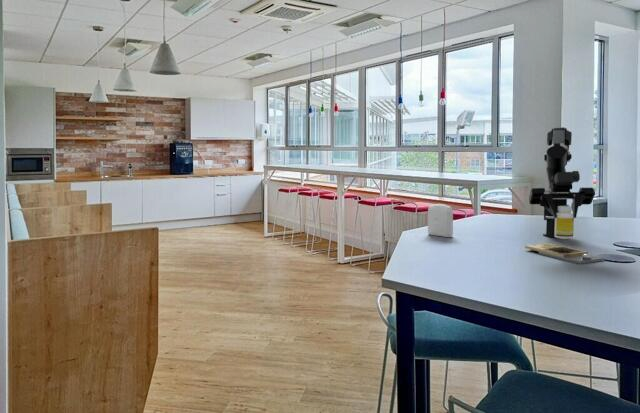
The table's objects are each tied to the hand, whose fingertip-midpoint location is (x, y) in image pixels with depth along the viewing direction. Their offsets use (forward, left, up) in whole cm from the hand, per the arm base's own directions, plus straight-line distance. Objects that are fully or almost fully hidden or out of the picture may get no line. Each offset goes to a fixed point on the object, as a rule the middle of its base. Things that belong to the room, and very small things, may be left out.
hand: (565, 217), depth 164 cm
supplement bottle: (+1, +1, -7) cm, 7 cm away
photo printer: (-13, +48, -13) cm, 51 cm away
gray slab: (+1, +1, -12) cm, 12 cm away
